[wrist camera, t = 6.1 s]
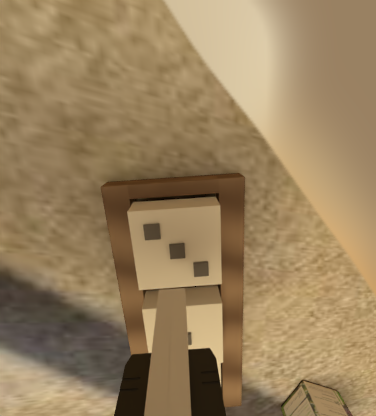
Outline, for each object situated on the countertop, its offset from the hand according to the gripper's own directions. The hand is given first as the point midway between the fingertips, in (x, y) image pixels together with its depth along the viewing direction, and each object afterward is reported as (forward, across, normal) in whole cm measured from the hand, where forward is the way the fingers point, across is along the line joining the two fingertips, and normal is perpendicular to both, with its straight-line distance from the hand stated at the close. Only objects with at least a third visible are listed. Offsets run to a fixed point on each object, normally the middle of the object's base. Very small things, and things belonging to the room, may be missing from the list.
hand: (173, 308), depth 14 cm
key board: (+10, 0, -8) cm, 13 cm away
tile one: (+8, 0, -8) cm, 12 cm away
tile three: (+8, 0, +1) cm, 8 cm away
